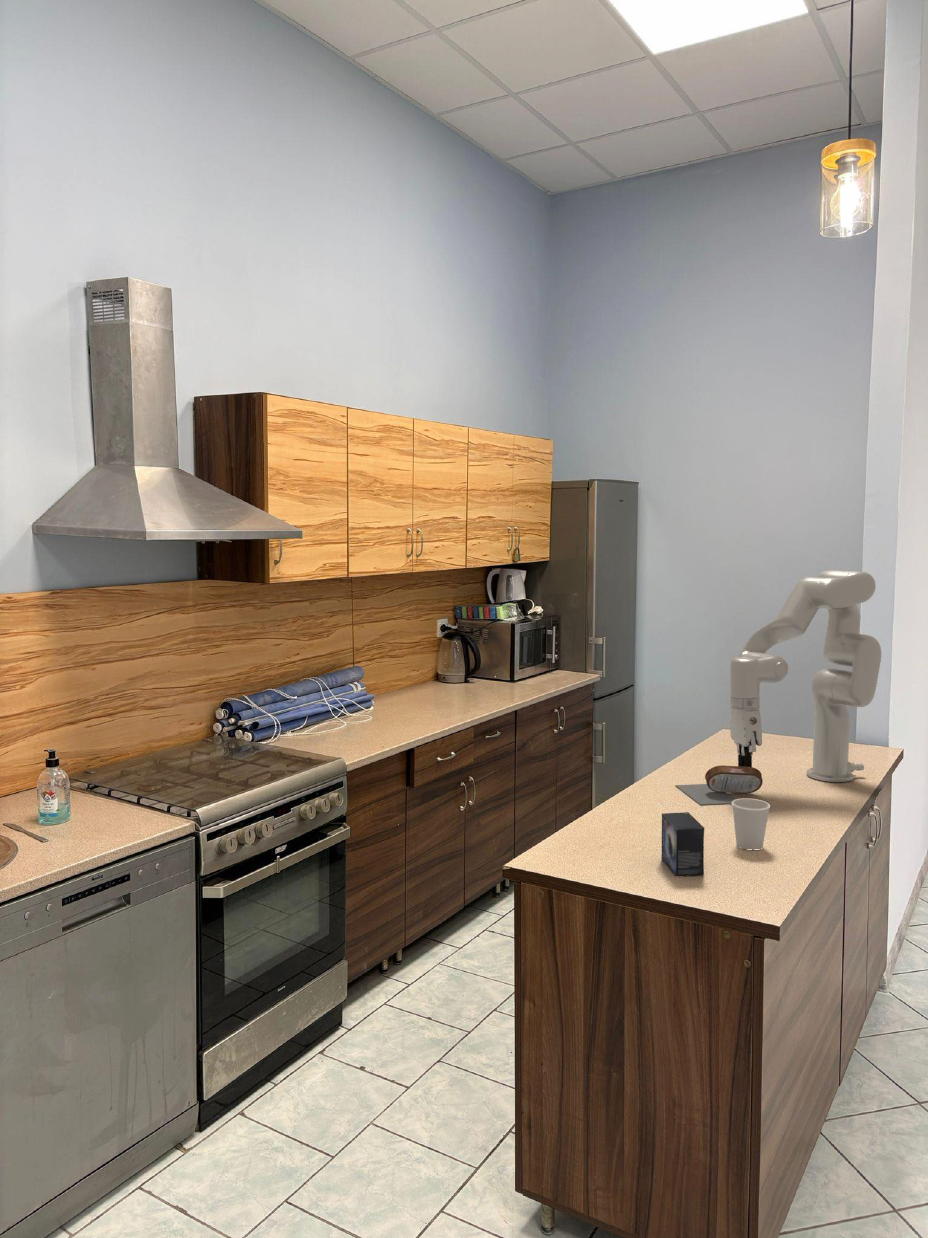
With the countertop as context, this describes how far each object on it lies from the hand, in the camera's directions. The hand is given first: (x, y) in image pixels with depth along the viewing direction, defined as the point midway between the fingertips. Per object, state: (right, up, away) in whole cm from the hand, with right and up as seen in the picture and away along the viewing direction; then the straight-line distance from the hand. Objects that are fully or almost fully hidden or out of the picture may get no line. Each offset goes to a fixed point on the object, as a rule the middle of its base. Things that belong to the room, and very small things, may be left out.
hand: (744, 768), depth 246 cm
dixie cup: (-12, -11, -41) cm, 44 cm away
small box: (-30, -12, -54) cm, 63 cm away
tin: (-4, -6, 0) cm, 7 cm away
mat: (-11, -7, -1) cm, 13 cm away
